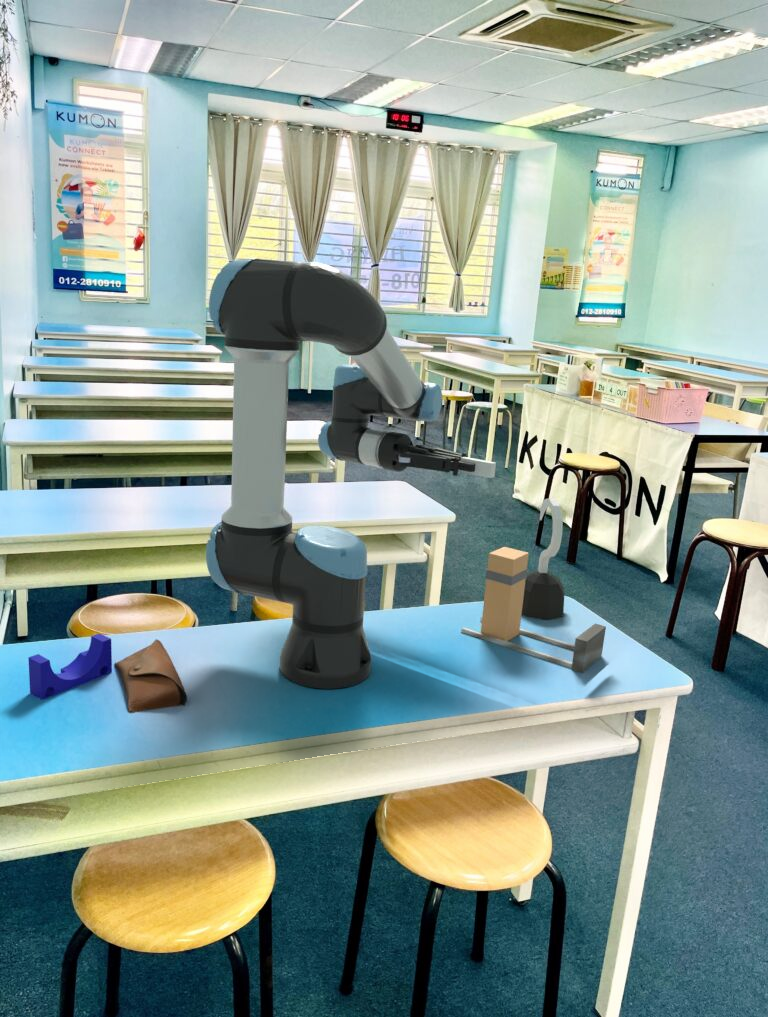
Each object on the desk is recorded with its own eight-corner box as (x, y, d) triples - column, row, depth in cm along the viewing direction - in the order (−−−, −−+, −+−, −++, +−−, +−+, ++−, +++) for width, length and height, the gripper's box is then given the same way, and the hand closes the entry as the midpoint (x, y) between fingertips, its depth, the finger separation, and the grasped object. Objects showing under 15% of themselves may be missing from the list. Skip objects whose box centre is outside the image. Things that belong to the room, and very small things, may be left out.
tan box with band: (479, 635, 144) (488, 553, 140) (495, 626, 149) (504, 546, 145) (504, 643, 141) (514, 559, 137) (519, 633, 146) (529, 552, 142)
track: (459, 640, 145) (462, 603, 143) (482, 626, 152) (486, 591, 150) (581, 680, 132) (586, 641, 130) (600, 664, 139) (605, 626, 137)
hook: (504, 606, 164) (517, 491, 158) (554, 607, 165) (569, 493, 159) (520, 627, 153) (534, 504, 147) (573, 628, 154) (589, 506, 148)
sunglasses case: (110, 661, 126) (131, 626, 126) (148, 676, 130) (169, 642, 130) (128, 714, 111) (153, 674, 111) (171, 729, 115) (195, 690, 115)
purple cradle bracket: (94, 665, 126) (93, 630, 124) (111, 673, 123) (111, 638, 122) (24, 691, 116) (22, 654, 114) (41, 701, 113) (40, 663, 112)
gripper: (404, 465, 159) (507, 485, 146) (366, 472, 149) (473, 495, 136) (407, 428, 157) (511, 446, 144) (368, 434, 147) (477, 453, 134)
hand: (493, 470), depth 140 cm, fingers closed
